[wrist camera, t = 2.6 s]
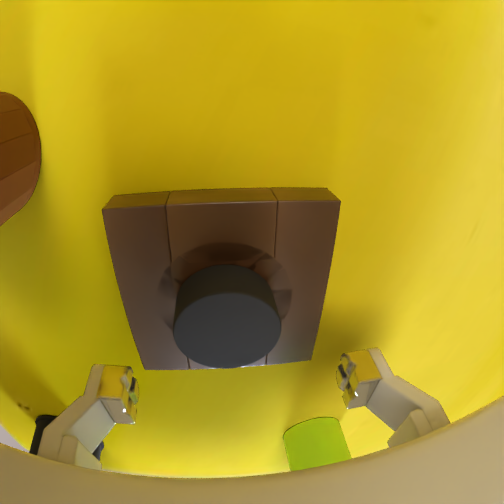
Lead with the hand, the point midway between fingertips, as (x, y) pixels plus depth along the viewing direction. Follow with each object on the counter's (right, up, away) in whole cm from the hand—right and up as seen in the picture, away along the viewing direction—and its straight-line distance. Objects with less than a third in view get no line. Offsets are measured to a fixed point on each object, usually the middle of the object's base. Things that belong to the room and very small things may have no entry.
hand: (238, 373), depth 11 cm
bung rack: (-1, +3, +5) cm, 6 cm away
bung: (-1, +3, +5) cm, 6 cm away
